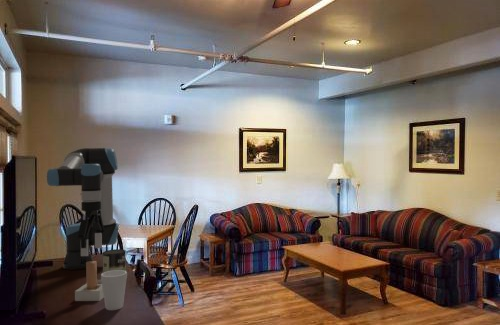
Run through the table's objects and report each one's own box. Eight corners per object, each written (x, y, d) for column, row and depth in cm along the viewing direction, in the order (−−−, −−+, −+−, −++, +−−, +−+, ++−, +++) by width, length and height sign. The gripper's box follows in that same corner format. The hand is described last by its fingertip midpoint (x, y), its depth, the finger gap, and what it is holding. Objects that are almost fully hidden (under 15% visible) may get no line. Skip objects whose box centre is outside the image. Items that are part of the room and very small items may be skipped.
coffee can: (130, 278, 184) (129, 249, 184) (118, 285, 173) (118, 254, 174) (110, 277, 186) (110, 248, 186) (98, 284, 176) (98, 253, 176)
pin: (89, 294, 160) (88, 260, 160) (98, 294, 160) (98, 260, 160) (85, 297, 156) (84, 263, 156) (94, 297, 156) (94, 263, 156)
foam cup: (101, 313, 140) (101, 278, 140) (100, 305, 149) (100, 271, 149) (128, 309, 144) (128, 274, 144) (126, 301, 153) (125, 268, 153)
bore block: (91, 288, 170) (91, 279, 170) (114, 288, 170) (114, 279, 170) (75, 301, 154) (74, 291, 154) (99, 300, 154) (99, 290, 154)
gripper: (94, 197, 171) (95, 245, 171) (67, 204, 146) (68, 259, 146) (111, 197, 171) (111, 245, 171) (87, 204, 146) (87, 259, 146)
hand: (91, 251), depth 159 cm, fingers open, 13 cm apart
